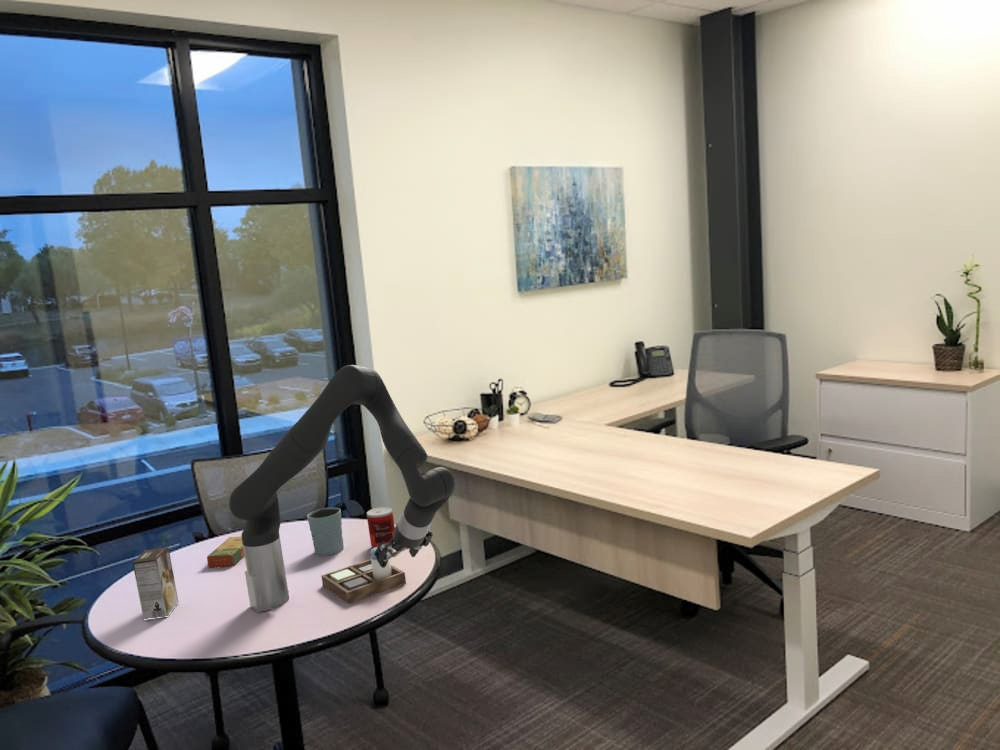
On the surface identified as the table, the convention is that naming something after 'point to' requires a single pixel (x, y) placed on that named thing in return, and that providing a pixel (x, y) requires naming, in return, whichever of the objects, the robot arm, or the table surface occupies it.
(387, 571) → the glue stick
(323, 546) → the green cup
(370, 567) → the grey rectangular block
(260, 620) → the table surface
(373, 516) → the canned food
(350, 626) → the table surface
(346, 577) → the note block
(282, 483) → the robot arm
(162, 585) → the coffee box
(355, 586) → the eraser
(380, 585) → the organizer
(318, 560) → the table surface
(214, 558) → the carton
